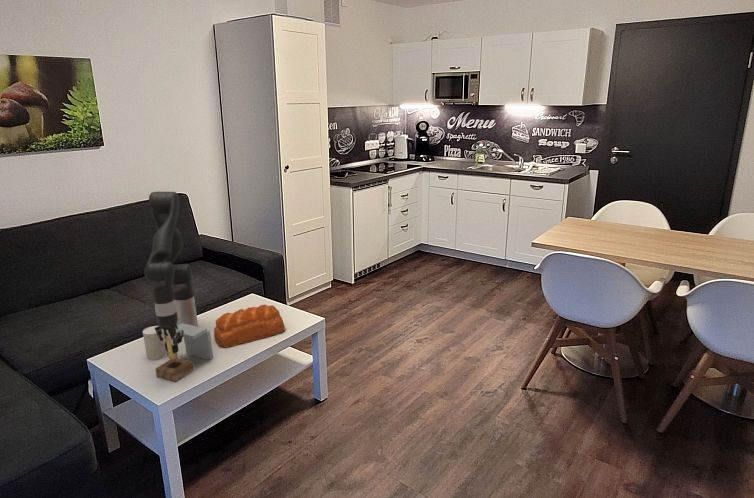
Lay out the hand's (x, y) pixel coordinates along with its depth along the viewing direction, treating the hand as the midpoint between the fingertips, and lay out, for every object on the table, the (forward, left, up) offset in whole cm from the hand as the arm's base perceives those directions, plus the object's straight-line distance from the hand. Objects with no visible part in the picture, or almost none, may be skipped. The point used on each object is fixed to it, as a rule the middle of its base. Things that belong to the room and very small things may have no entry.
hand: (172, 351), depth 200 cm
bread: (+5, +41, -11) cm, 42 cm away
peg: (0, 0, -3) cm, 3 cm away
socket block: (0, 0, -10) cm, 10 cm away
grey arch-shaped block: (-2, +11, -10) cm, 15 cm away
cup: (-20, +9, -10) cm, 24 cm away
